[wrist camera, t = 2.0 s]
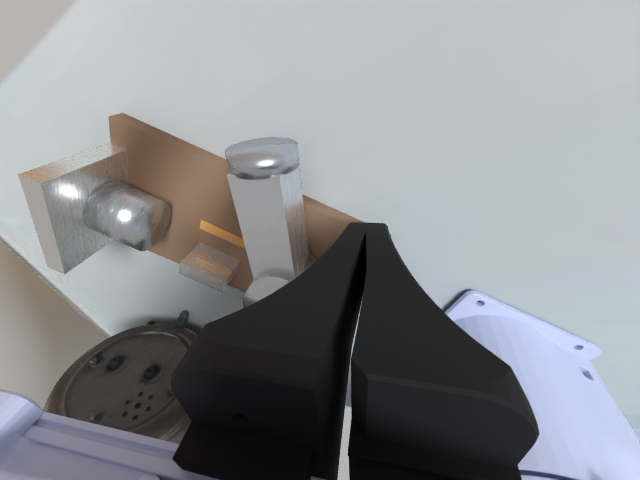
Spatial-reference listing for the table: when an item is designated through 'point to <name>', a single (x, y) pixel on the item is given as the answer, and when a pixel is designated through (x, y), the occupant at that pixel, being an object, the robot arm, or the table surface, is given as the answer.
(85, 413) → the alarm clock
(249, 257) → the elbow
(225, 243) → the board
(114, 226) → the square plate with knob
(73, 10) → the table surface
